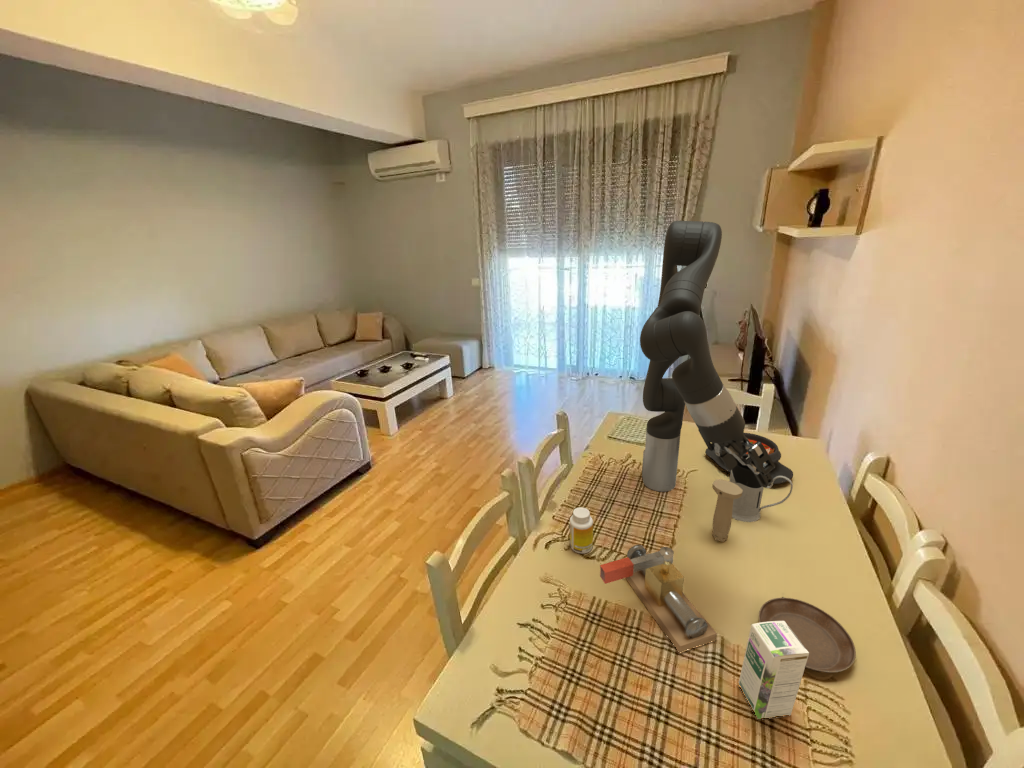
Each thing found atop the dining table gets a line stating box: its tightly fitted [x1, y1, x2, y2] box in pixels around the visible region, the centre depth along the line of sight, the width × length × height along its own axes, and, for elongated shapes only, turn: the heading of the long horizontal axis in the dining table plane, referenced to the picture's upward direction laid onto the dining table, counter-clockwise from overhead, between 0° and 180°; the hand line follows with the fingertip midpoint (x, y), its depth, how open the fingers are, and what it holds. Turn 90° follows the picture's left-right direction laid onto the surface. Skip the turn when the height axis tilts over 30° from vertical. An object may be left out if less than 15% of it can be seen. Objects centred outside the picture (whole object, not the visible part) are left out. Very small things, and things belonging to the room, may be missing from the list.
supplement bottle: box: [569, 507, 594, 554], centre depth 102 cm, size 6×6×10 cm
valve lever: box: [599, 546, 675, 585], centre depth 82 cm, size 15×3×3 cm, turn 106°
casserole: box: [705, 432, 794, 485], centre depth 130 cm, size 25×19×8 cm
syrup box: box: [738, 621, 809, 720], centre depth 67 cm, size 6×6×14 cm
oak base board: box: [625, 551, 718, 654], centre depth 88 cm, size 22×8×2 cm, turn 16°
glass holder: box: [728, 455, 794, 523], centre depth 108 cm, size 9×14×15 cm, turn 50°
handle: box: [711, 478, 743, 543], centre depth 101 cm, size 5×6×15 cm
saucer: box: [758, 597, 857, 674], centre depth 78 cm, size 15×15×3 cm
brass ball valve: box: [626, 544, 708, 639], centre depth 86 cm, size 21×5×9 cm, turn 16°
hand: (749, 475), depth 81 cm, fingers open, 8 cm apart
